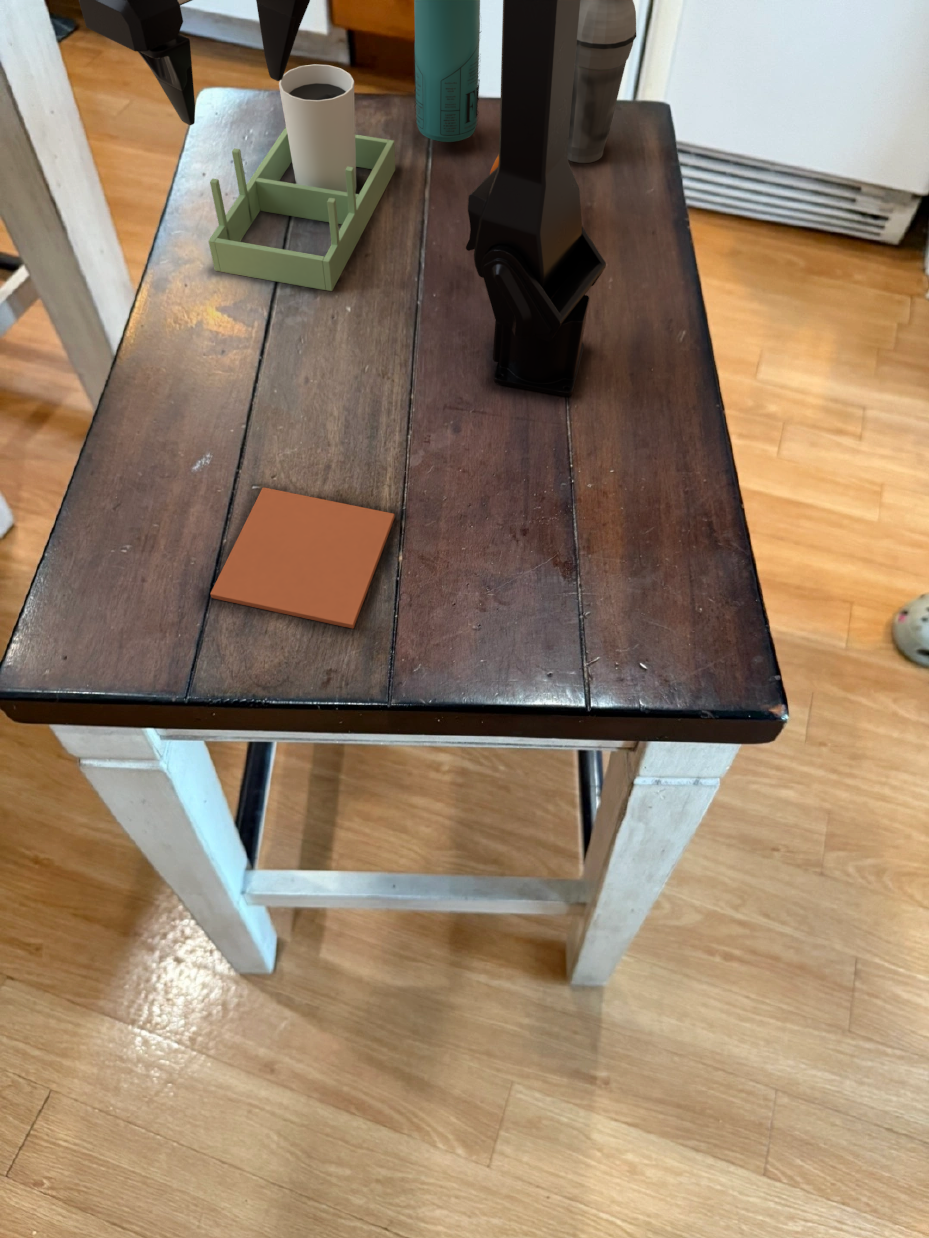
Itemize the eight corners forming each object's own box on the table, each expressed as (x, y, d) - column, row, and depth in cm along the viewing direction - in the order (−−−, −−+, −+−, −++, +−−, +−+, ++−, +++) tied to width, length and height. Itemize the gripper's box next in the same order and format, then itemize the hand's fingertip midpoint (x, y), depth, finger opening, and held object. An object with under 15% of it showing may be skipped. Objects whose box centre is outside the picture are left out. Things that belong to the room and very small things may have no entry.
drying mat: (394, 518, 67) (394, 513, 66) (353, 629, 61) (353, 624, 61) (263, 491, 68) (262, 486, 67) (211, 598, 62) (209, 593, 62)
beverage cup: (628, 163, 95) (670, -67, 78) (564, 176, 93) (593, -56, 76) (597, 128, 98) (630, -98, 82) (535, 139, 97) (556, -89, 80)
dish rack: (395, 170, 93) (393, 98, 87) (332, 291, 81) (324, 218, 76) (291, 153, 94) (282, 81, 88) (214, 271, 82) (198, 197, 77)
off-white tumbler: (369, 176, 92) (363, 70, 84) (348, 213, 88) (340, 106, 80) (306, 166, 93) (294, 59, 84) (282, 202, 89) (267, 94, 81)
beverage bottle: (470, 161, 94) (479, -71, 77) (407, 152, 95) (402, -80, 78) (483, 129, 98) (493, -99, 81) (421, 121, 98) (419, -108, 82)
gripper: (213, -210, 66) (249, 28, 79) (-11, -145, 58) (69, 110, 71) (326, -173, 62) (344, 71, 75) (103, -97, 54) (167, 163, 67)
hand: (233, 100), depth 72 cm, fingers open, 9 cm apart
